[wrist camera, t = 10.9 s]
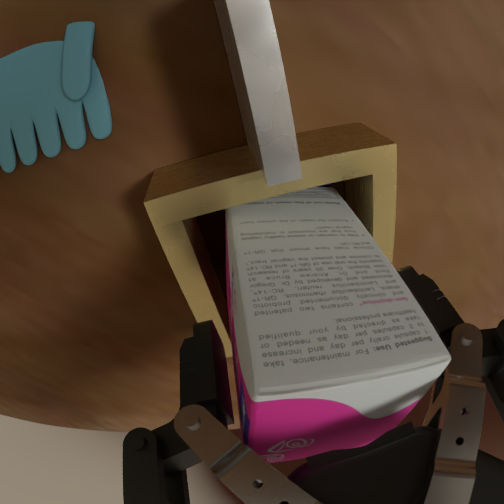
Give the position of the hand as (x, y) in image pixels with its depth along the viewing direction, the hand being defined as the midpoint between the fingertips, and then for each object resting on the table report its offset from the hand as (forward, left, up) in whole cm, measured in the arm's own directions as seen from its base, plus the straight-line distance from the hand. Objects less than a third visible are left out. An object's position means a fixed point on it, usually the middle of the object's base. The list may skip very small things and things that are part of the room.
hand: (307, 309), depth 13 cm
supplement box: (0, 0, -6) cm, 6 cm away
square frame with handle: (0, 0, -6) cm, 6 cm away
